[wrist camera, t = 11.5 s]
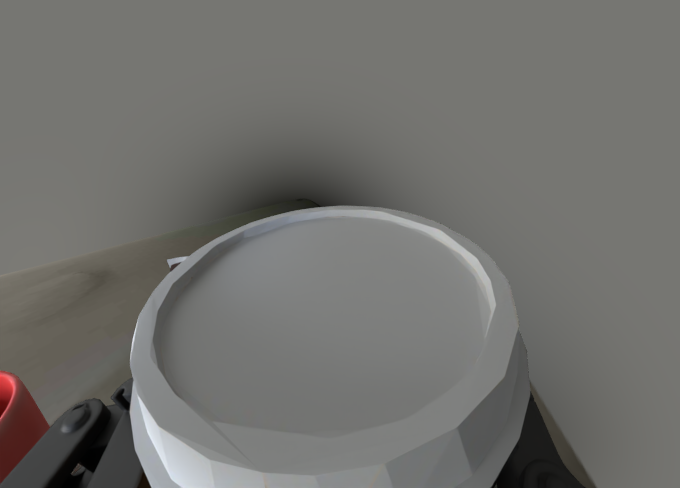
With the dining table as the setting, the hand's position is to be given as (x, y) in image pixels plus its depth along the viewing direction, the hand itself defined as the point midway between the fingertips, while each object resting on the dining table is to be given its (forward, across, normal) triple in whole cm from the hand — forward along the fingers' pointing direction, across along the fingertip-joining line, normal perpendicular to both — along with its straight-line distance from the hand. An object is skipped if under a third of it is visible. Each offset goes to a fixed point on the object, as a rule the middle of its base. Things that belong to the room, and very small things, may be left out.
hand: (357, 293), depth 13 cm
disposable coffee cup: (-5, 0, -7) cm, 9 cm away
